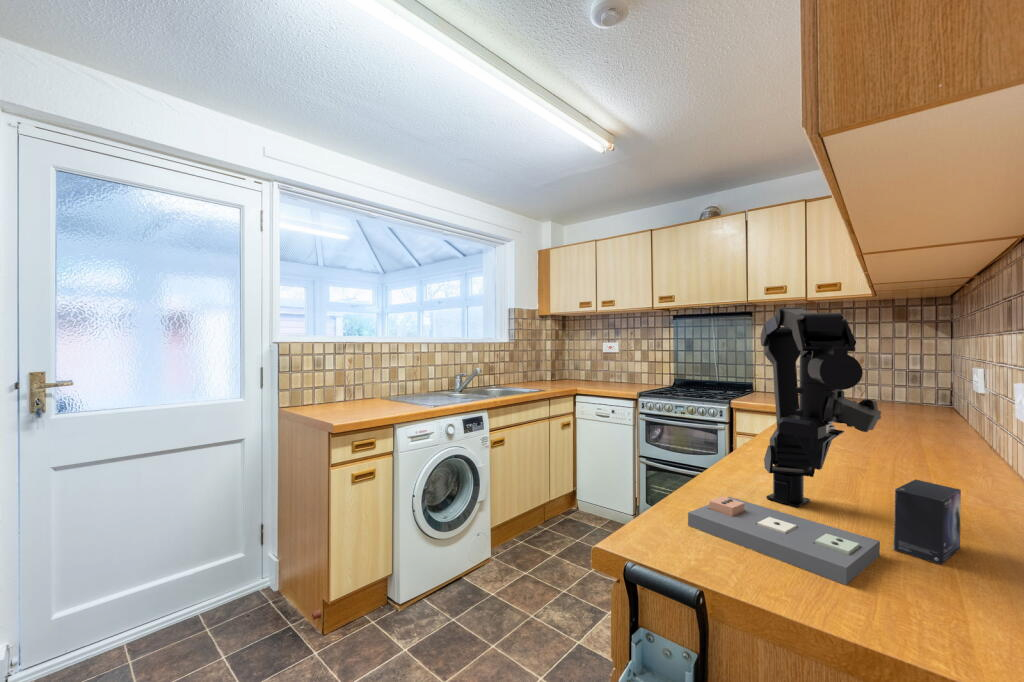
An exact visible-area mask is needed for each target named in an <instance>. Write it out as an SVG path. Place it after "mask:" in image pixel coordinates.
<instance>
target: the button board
mask: <svg viewBox="0 0 1024 682" xmlns="http://www.w3.org/2000/svg"><path fill="white" fill-rule="evenodd" d="M726 498H729V499H733V500H736V501H739V502H743V503H744V512H743V513H741V514H739V515H736V516H734V517H732V516H729V515H726V514H723V513H720V512H717V511H713V510H710V509H709V504H707V505H704V506H701V507H699V508H696V509H693V510H690V511H689V512H687V527H691V528H693V529H696V530H698V531H701V532H704V533H706V532H707V534H709V535H712V536H715V537H717V536H718V537H717V538H719V539H723V540H725V541H727V540H728V541H727V542H730V541H731V542H730V543H733V542H734V543H733V544H735V543H736V545H739V546H742V547H743V546H744V547H743V548H746V547H747V548H746V549H749V550H751V549H752V551H754V550H755V551H754V552H757V553H759V552H760V554H762V555H765V556H768V557H771V558H773V559H775V560H778V561H781V562H783V563H786V564H789V565H792V566H794V567H797V568H800V569H802V570H804V571H807V572H809V573H813V574H815V575H818V576H820V577H823V578H825V579H828V580H831V581H834V582H836V583H839V584H842V585H845V586H847V585H848V584H849V583H851V582H852V581H853V580H854V579H855V578H856V577H857V576H858V575H860V574H861V573H862V572H863V571H865V570H866V569H867V568H868V567H869V566H870V565H871V564H872V563H874V562H875V561H876V560H877V559H878V558H880V556H881V553H880V552H881V549H880V548H881V547H880V546H881V545H880V544H881V543H880V542H881V541H880V540H877V539H875V538H871V537H869V536H865V535H863V534H862V535H861V534H859V533H858V534H857V533H855V532H851V531H848V530H844V529H841V528H838V527H835V526H831V525H827V524H824V523H820V522H818V521H817V522H816V521H814V520H810V519H806V518H803V517H800V516H797V515H792V514H789V513H786V512H783V511H779V510H777V509H772V508H768V507H765V506H762V505H759V504H755V503H751V502H748V501H746V500H745V501H744V500H742V499H738V498H735V497H733V496H728V497H726ZM768 517H771V518H775V519H778V520H781V521H784V522H788V523H791V524H794V525H796V529H795V530H793V531H791V532H789V533H788V534H783V533H780V532H777V531H774V530H771V529H768V528H765V527H762V526H759V525H757V523H758V522H760V521H762V520H764V519H766V518H768ZM825 534H830V535H833V536H836V537H839V538H843V539H846V540H849V541H852V542H856V543H859V550H857V551H856V552H855V553H853V554H852V555H851V556H850V555H847V554H844V553H841V552H838V551H835V550H832V549H829V548H826V547H823V546H820V545H817V544H815V540H817V539H818V538H820V537H821V536H823V535H825Z"/></svg>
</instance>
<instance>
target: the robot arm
mask: <svg viewBox="0 0 1024 682" xmlns="http://www.w3.org/2000/svg"><path fill="white" fill-rule="evenodd" d="M775 311H776V313H775V315H774V316H771V318H769V319H768V320H767V321H765V322H764V323H763V327H762V330H761V332H760V346H761V347H763V354H764V356H765V358H767V360H768V361H769V363H770V364H771V365H772V373H773V384H774V385H773V387H774V401H775V415H776V416H775V418H776V428H775V430H774V432H773V433H772V435H771V437H770V438H769V445H767V448H766V451H765V455H764V458H763V462H764V463H763V465H764V469H765V470H766V471H767V473H769V474H772V475H773V476H772V493H770V494H768V495H766V496H765V497H766V499H767V500H771V501H773V502H774V501H775V502H778V503H781V504H785V505H789V506H791V507H796V508H800V507H801V506H804V505H805V504H808V503H809V502H811V499H810V498H808V497H804V494H805V493H804V486H805V485H804V484H805V483H804V477H811V478H814V475H815V471H816V470H818V471H821V470H822V469H823V466H824V464H825V461H826V458H827V455H828V453H829V449H830V448H831V447H830V446H831V444H832V442H833V440H834V439H836V438H837V437H839V436H840V435H842V434H844V433H845V431H844V430H842V429H836V425H833V423H837V424H845V425H846V426H847V428H849V427H850V428H852V427H853V428H854V429H856V430H857V431H860V432H863V433H868V432H869V431H873V430H874V428H875V426H876V425H877V423H878V421H879V420H880V419H881V418H882V417H881V416H882V413H881V412H882V411H881V410H879V409H878V402H877V401H875V400H872V399H870V398H865V399H862V400H861V401H859V402H857V400H851V399H848V398H846V397H845V391H844V390H849V389H851V388H854V387H855V386H856V385H858V384H859V383H860V381H861V379H862V377H863V371H864V370H863V368H862V365H861V363H860V362H859V361H858V360H857V359H856V358H855V357H853V356H852V355H850V354H848V353H849V352H855V351H856V344H857V340H856V338H855V335H854V334H853V331H852V329H851V327H850V325H849V323H848V320H847V319H846V318H844V315H843V314H842V313H841V312H812V311H809V310H806V309H805V308H804V307H800V306H794V307H793V306H791V307H790V306H789V307H780V308H777V309H776V310H775ZM798 359H799V386H798V375H797V364H796V363H797V361H798Z"/></svg>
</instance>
